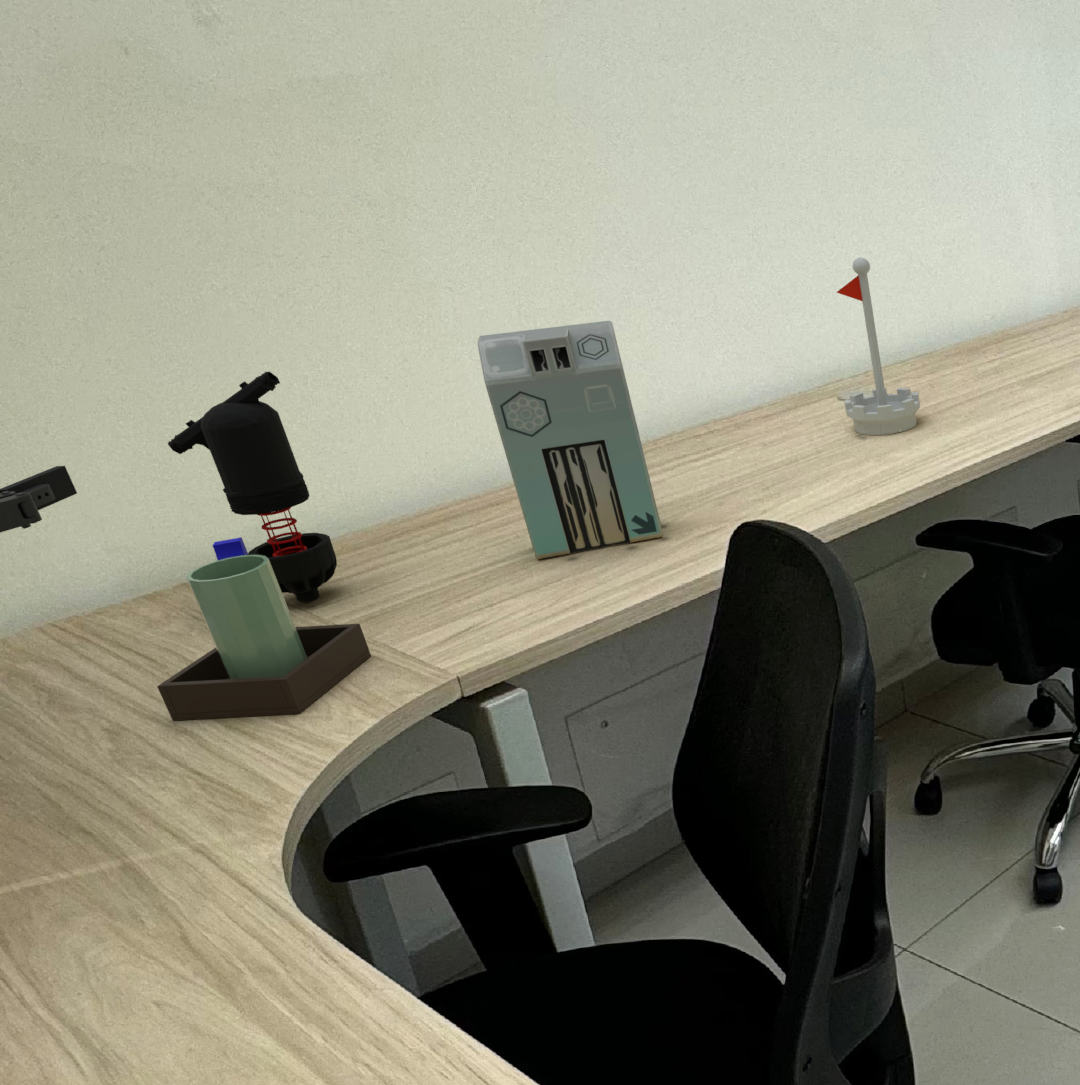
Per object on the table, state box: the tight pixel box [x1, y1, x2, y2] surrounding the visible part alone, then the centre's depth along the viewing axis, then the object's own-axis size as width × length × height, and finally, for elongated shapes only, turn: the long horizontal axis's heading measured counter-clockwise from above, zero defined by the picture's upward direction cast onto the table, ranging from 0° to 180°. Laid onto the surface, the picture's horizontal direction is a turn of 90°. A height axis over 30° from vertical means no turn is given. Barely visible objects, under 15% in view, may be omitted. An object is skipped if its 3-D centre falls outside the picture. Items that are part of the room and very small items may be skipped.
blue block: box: [212, 536, 249, 561], centre depth 164 cm, size 12×4×6 cm, turn 27°
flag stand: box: [836, 256, 921, 436], centre depth 218 cm, size 13×13×30 cm
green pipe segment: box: [185, 555, 307, 679], centre depth 137 cm, size 7×7×14 cm
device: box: [477, 320, 664, 560], centre depth 171 cm, size 16×8×30 cm, turn 115°
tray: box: [156, 623, 372, 722], centre depth 139 cm, size 14×14×4 cm
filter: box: [167, 371, 338, 603], centre depth 156 cm, size 14×9×30 cm
